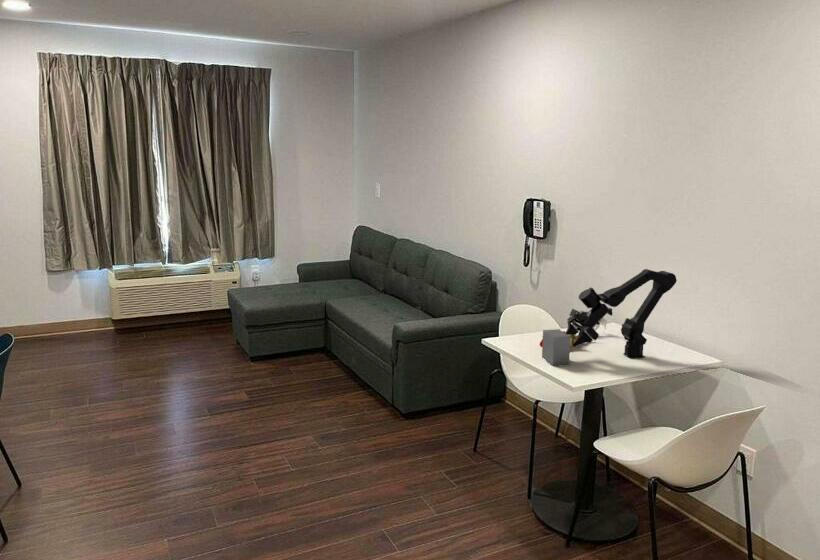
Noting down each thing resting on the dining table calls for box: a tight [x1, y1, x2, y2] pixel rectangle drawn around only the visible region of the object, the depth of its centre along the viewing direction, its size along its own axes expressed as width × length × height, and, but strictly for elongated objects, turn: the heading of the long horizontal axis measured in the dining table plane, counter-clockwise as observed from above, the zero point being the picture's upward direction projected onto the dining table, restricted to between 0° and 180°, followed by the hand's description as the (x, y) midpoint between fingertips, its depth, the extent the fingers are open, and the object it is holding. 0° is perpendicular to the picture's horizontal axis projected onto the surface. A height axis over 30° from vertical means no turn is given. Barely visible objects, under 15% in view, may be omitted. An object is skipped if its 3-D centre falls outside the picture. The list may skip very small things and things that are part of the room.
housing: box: [541, 328, 571, 367], centre depth 261 cm, size 7×11×12 cm, turn 11°
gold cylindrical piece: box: [569, 334, 577, 350], centre depth 261 cm, size 8×6×6 cm
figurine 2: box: [593, 316, 608, 335], centre depth 300 cm, size 8×12×10 cm
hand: (568, 342), depth 261 cm, fingers open, 9 cm apart
